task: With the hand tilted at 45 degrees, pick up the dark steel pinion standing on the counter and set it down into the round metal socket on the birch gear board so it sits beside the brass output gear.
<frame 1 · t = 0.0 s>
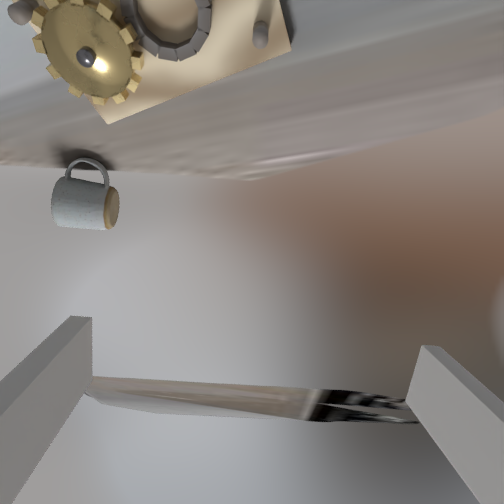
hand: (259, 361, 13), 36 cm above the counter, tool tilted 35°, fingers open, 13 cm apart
ceramic mug: (93, 182, 52), on the counter
board: (155, 11, 34), on the counter
output gear: (104, 37, 36), resting on board
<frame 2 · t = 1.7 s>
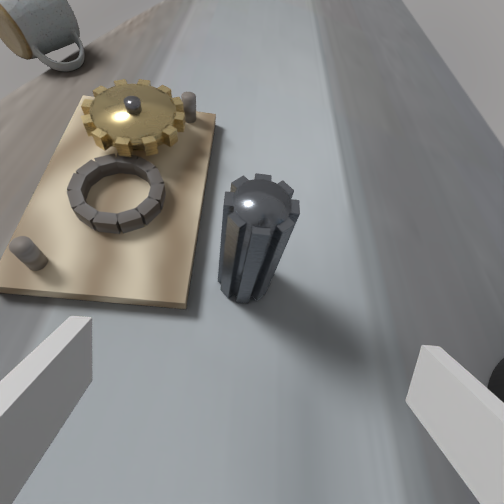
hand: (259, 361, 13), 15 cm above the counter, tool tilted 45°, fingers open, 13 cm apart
ceramic mug: (54, 54, 44), on the counter
board: (128, 191, 34), on the counter
pinion: (243, 279, 31), on the counter
output gear: (142, 147, 38), resting on board
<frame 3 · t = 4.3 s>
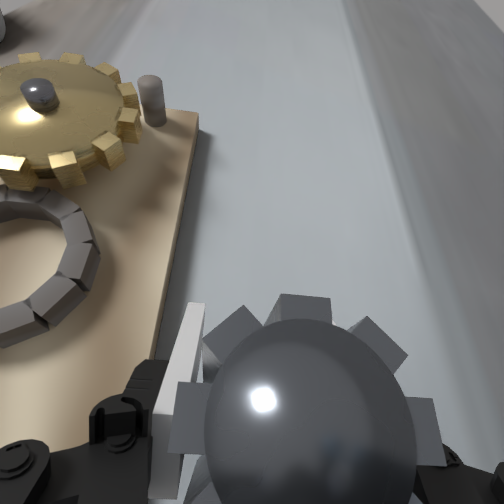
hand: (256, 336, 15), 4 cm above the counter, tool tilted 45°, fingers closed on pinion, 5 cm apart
board: (39, 248, 19), on the counter
pinion: (243, 430, 16), on the counter, touching gripper
output gear: (75, 167, 23), resting on board
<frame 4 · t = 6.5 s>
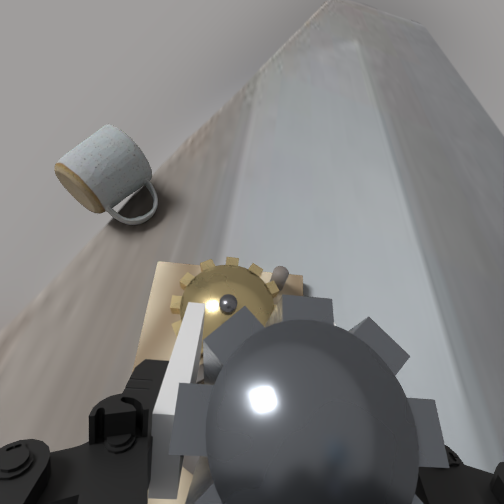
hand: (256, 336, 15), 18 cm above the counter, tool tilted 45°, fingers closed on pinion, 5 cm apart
ceramic mug: (122, 197, 41), on the counter
board: (219, 393, 30), on the counter
pinion: (243, 430, 16), point 15 cm above the counter, touching gripper
output gear: (225, 323, 34), resting on board
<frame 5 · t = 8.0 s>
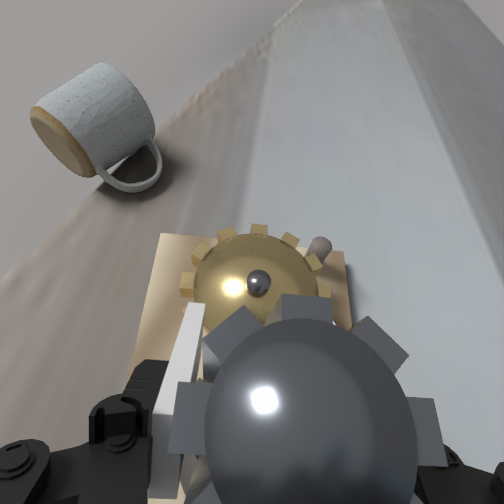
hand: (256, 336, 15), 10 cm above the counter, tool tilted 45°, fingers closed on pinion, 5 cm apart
ceramic mug: (118, 161, 33), on the counter
board: (244, 402, 23), on the counter
pinion: (243, 430, 16), point 7 cm above the counter, touching gripper
output gear: (248, 311, 26), resting on board
when the fingers open (6 cm above the counter, at t = 9.0 s): pinion stays where it is, resting on board.
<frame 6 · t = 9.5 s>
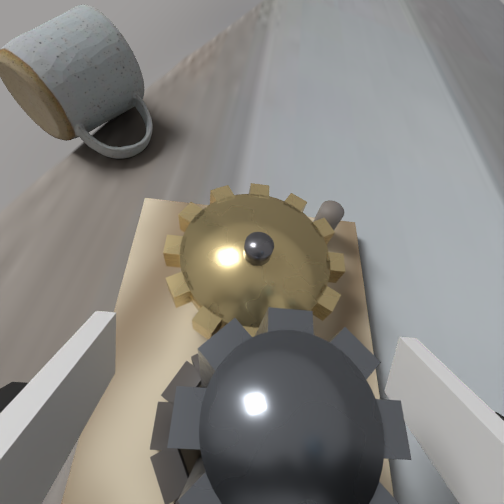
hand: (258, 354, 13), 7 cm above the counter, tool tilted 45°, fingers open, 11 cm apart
ceramic mug: (102, 125, 29), on the counter
board: (240, 392, 19), on the counter
pinion: (240, 431, 17), point 2 cm above the counter, touching board
output gear: (246, 288, 22), resting on board
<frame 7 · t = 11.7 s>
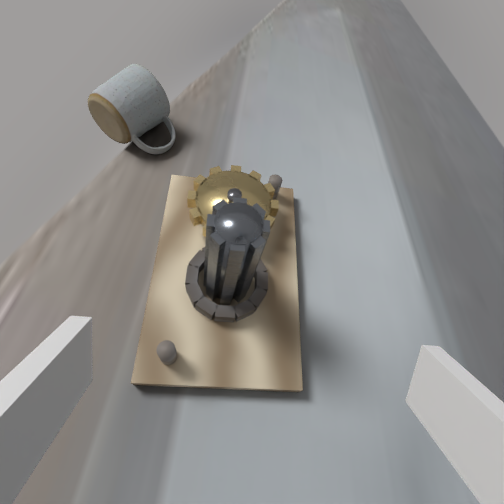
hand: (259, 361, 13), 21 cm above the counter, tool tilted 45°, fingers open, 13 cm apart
ceramic mug: (142, 133, 46), on the counter
board: (226, 272, 37), on the counter
pinion: (226, 283, 35), point 2 cm above the counter, touching board
output gear: (230, 224, 40), resting on board
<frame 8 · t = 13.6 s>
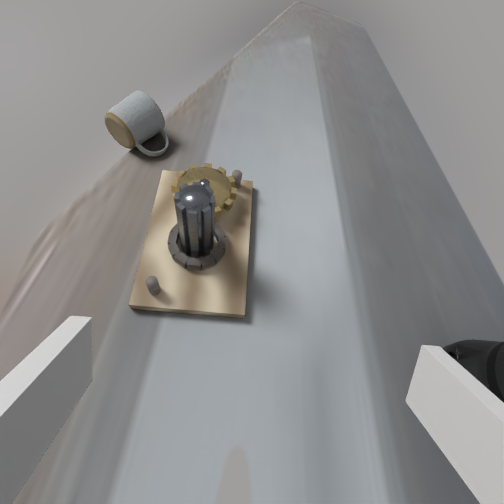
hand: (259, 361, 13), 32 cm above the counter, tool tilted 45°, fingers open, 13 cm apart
ceramic mug: (144, 141, 61), on the counter
board: (199, 239, 52), on the counter
pinion: (197, 245, 49), point 2 cm above the counter, touching board
output gear: (204, 206, 55), resting on board
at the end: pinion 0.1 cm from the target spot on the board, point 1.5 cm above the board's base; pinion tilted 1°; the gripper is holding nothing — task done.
